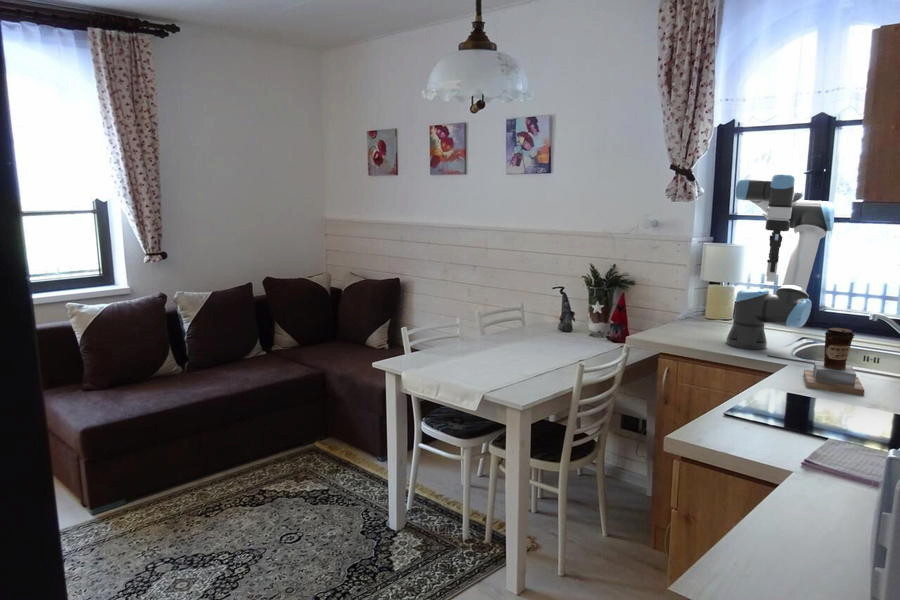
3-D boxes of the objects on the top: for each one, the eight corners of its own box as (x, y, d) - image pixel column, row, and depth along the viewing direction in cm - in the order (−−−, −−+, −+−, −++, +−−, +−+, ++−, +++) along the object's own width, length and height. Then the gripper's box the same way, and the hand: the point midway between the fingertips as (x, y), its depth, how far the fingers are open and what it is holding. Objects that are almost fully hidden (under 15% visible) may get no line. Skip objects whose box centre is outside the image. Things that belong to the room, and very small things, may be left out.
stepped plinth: (803, 374, 226) (805, 358, 225) (856, 382, 220) (859, 365, 218) (806, 387, 212) (809, 369, 211) (863, 396, 205) (866, 377, 204)
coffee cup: (853, 372, 209) (859, 333, 207) (825, 370, 211) (831, 331, 209) (843, 365, 218) (849, 327, 215) (816, 363, 219) (822, 325, 217)
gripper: (766, 217, 240) (759, 273, 244) (766, 220, 218) (758, 282, 222) (788, 218, 237) (781, 275, 241) (791, 221, 215) (783, 284, 219)
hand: (770, 279), depth 231 cm, fingers open, 13 cm apart
